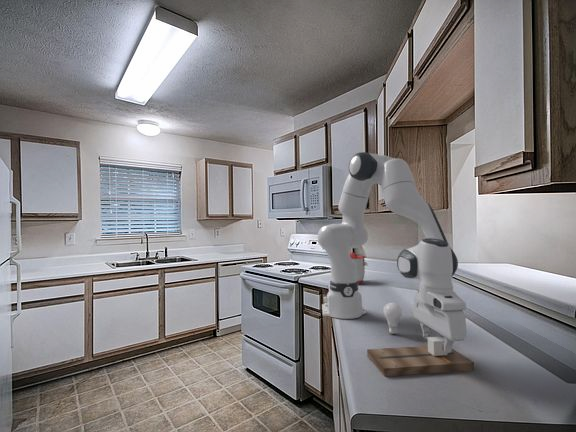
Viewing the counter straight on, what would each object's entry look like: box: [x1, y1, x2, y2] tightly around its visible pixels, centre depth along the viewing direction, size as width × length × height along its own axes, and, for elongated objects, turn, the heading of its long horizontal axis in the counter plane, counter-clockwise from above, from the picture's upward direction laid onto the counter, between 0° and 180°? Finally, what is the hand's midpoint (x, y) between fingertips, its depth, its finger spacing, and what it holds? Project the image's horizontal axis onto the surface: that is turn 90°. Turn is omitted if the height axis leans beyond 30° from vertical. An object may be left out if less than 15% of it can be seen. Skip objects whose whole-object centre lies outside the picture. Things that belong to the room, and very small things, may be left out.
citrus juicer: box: [349, 252, 369, 285], centre depth 199 cm, size 16×17×20 cm
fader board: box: [366, 345, 475, 377], centre depth 87 cm, size 25×12×2 cm, turn 96°
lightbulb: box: [382, 301, 403, 335], centre depth 109 cm, size 6×6×11 cm
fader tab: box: [427, 336, 447, 356], centre depth 87 cm, size 4×3×4 cm
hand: (436, 344), depth 88 cm, fingers open, 8 cm apart
